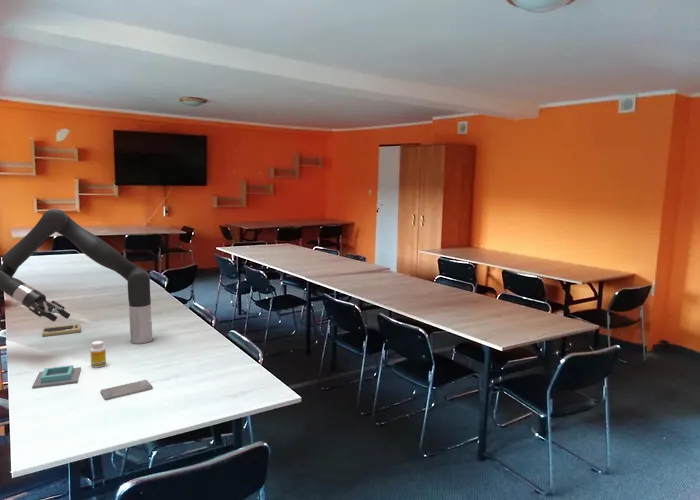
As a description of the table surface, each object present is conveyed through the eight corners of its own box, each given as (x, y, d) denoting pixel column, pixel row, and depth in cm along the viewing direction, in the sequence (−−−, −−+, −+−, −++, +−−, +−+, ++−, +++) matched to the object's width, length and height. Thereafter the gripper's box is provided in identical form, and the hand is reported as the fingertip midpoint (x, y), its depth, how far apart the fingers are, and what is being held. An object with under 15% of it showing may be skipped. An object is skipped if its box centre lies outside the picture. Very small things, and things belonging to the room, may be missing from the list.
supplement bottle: (89, 365, 197) (87, 342, 195) (103, 361, 201) (101, 339, 199) (94, 369, 193) (92, 345, 192) (108, 365, 197) (107, 342, 196)
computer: (42, 338, 229) (42, 331, 228) (43, 333, 236) (43, 326, 235) (81, 333, 236) (80, 327, 236) (80, 329, 243) (80, 322, 243)
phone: (99, 393, 173) (99, 389, 173) (146, 382, 183) (146, 379, 183) (105, 402, 167) (104, 398, 167) (153, 390, 177) (153, 387, 176)
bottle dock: (81, 369, 193) (80, 362, 192) (77, 382, 180) (76, 375, 180) (39, 373, 187) (39, 366, 187) (32, 388, 175) (31, 381, 174)
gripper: (21, 290, 192) (56, 312, 192) (45, 288, 207) (77, 308, 206) (12, 306, 193) (46, 328, 192) (36, 303, 207) (68, 323, 206)
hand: (62, 318), depth 199 cm, fingers open, 8 cm apart
